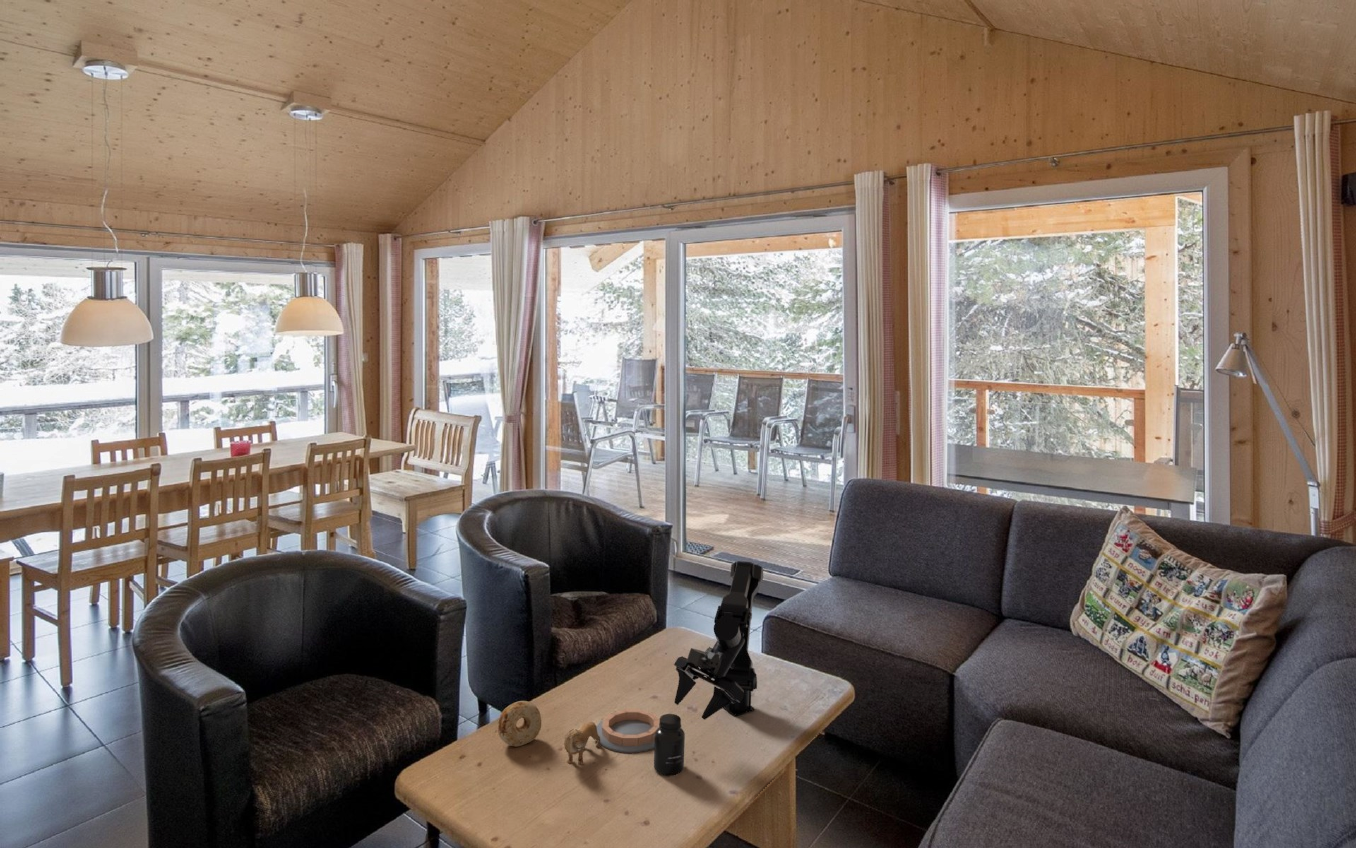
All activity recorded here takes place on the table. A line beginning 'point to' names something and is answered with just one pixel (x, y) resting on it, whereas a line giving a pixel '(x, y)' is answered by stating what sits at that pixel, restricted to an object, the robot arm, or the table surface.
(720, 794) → the table surface
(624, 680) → the table surface
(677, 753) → the supplement bottle
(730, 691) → the robot arm
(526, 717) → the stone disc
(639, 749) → the ring tray
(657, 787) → the table surface
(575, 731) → the lion figurine
